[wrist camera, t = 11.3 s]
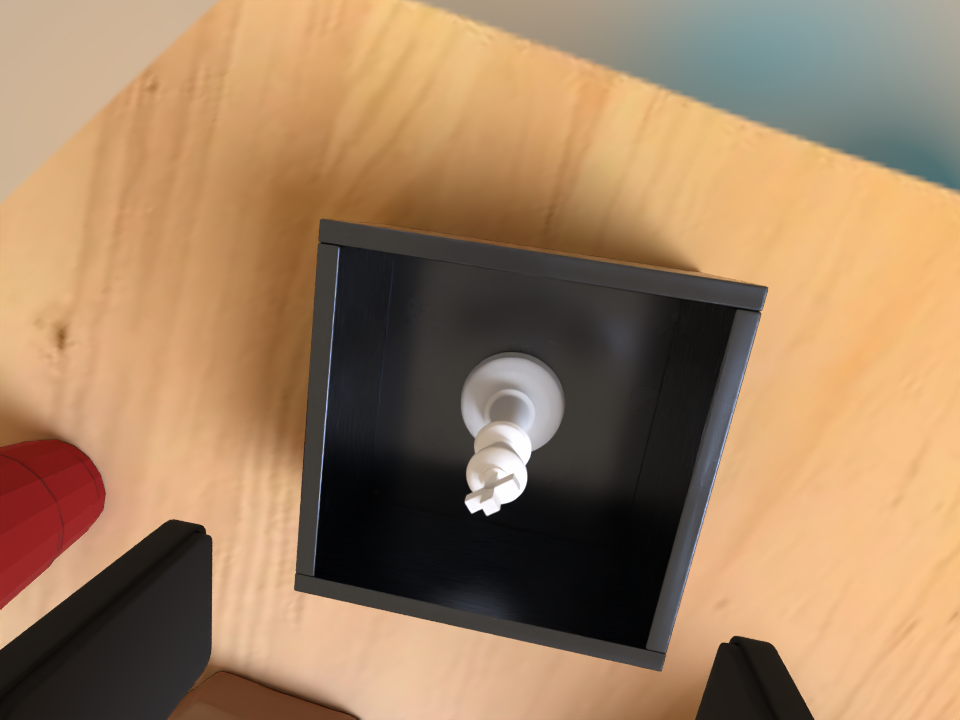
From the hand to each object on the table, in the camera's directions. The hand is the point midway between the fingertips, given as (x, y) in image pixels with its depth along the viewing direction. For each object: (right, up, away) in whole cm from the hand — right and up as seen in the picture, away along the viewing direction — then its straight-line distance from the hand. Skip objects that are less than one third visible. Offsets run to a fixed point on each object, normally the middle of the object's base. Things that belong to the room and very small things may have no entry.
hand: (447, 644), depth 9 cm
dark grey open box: (+2, +3, +16) cm, 16 cm away
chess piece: (+2, +3, +16) cm, 16 cm away
